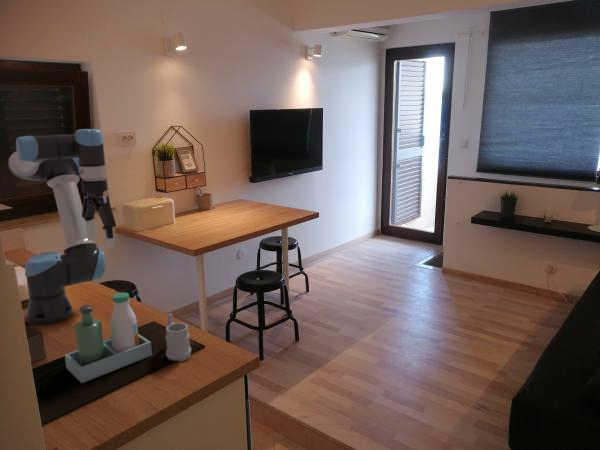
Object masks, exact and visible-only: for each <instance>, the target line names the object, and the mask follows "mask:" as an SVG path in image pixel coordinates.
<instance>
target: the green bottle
mask: <svg viewBox="0 0 600 450" xmlns="http://www.w3.org/2000/svg"><path fill="white" fill-rule="evenodd" d="M78 309H79V313H80V314H81V321H78V322H77V323H76V324H75V325H74V333H75V339H76V347H77V350H78V357H79V365H80V366H81V367H82V366H85V365H88V364H90V363H93V362H96V361H98V360H101V359H104V358H105V352H104V343H103V341H104V337H103V326H102V321H101V320H100V319H96V318H93V312H92V311H93V310H94V308H93V305H91V304H86V305H81V306H80V307H79V308H78Z"/></svg>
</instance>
